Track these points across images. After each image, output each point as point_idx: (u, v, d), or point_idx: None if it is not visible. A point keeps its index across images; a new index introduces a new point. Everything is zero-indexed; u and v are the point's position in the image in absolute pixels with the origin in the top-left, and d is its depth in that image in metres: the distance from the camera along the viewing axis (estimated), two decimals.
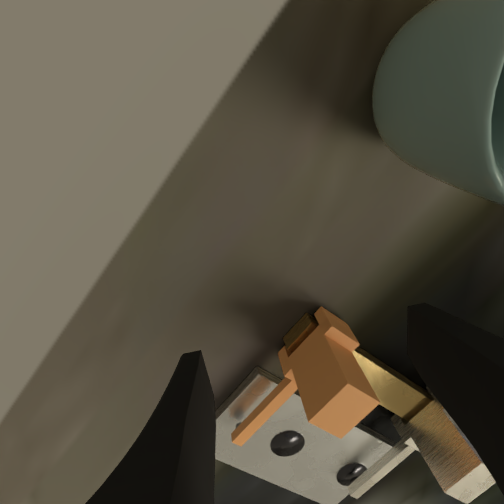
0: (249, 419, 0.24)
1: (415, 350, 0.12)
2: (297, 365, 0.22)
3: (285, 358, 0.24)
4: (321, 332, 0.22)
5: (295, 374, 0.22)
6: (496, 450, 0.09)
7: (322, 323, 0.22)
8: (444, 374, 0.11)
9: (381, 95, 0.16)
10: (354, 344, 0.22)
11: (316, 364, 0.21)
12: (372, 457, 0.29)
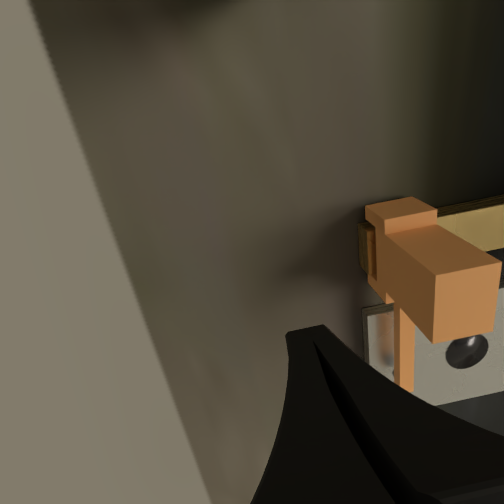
0: (396, 363, 0.20)
1: None
2: (387, 285, 0.17)
3: (376, 284, 0.19)
4: (381, 234, 0.17)
5: (392, 296, 0.17)
6: None
7: (376, 223, 0.17)
8: None
9: None
10: (430, 214, 0.16)
11: (399, 273, 0.16)
12: None
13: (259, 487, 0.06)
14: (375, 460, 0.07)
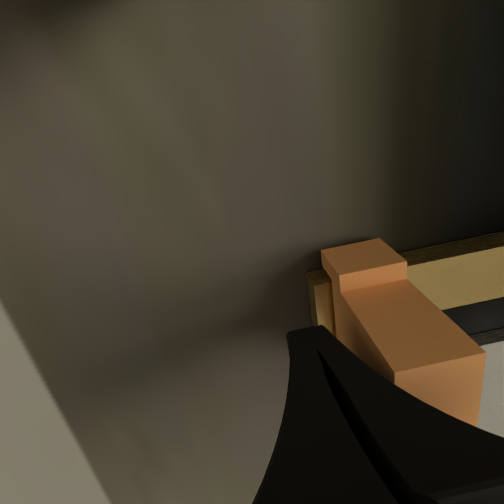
0: None
1: None
2: None
3: None
4: (338, 291, 0.13)
5: None
6: None
7: (331, 275, 0.14)
8: None
9: None
10: (398, 267, 0.13)
11: (357, 346, 0.12)
12: None
13: (261, 486, 0.06)
14: (373, 461, 0.07)
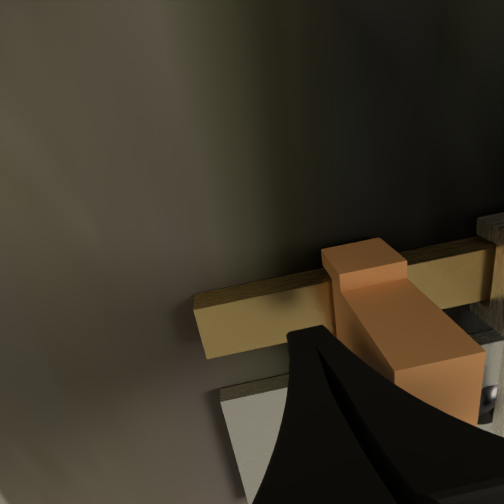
0: None
1: None
2: None
3: None
4: (338, 290, 0.13)
5: None
6: None
7: (332, 275, 0.14)
8: None
9: None
10: (399, 266, 0.13)
11: (357, 346, 0.12)
12: (495, 369, 0.18)
13: (260, 487, 0.06)
14: (374, 461, 0.07)
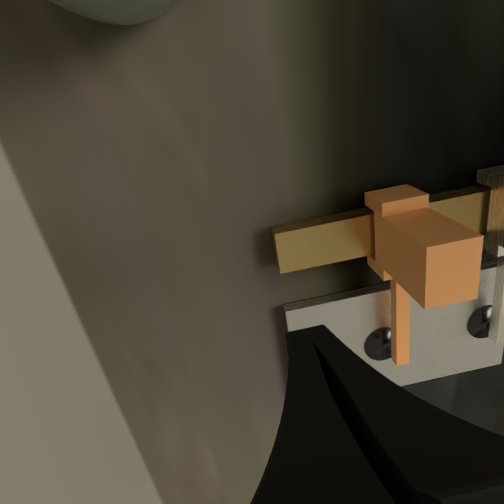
0: (393, 337, 0.22)
1: None
2: (385, 263, 0.19)
3: (374, 263, 0.21)
4: (379, 217, 0.19)
5: (389, 272, 0.19)
6: None
7: (374, 207, 0.19)
8: None
9: None
10: (423, 198, 0.18)
11: (395, 250, 0.18)
12: (491, 291, 0.23)
13: (259, 487, 0.06)
14: (375, 460, 0.07)
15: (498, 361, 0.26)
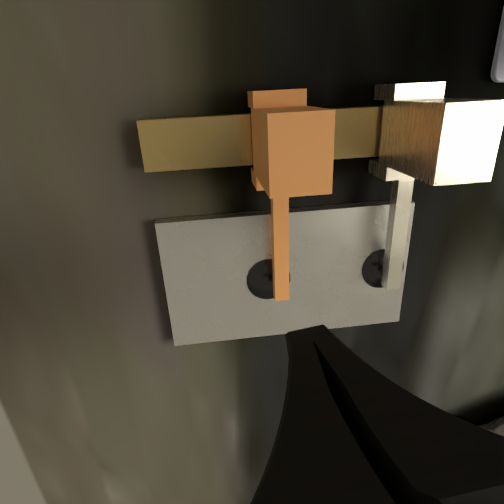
0: (273, 266, 0.20)
1: None
2: (256, 166, 0.17)
3: (253, 175, 0.19)
4: (252, 111, 0.17)
5: (257, 176, 0.17)
6: None
7: (250, 102, 0.17)
8: None
9: None
10: (300, 93, 0.16)
11: (258, 142, 0.15)
12: None
13: (259, 487, 0.06)
14: (375, 460, 0.07)
15: (396, 318, 0.24)
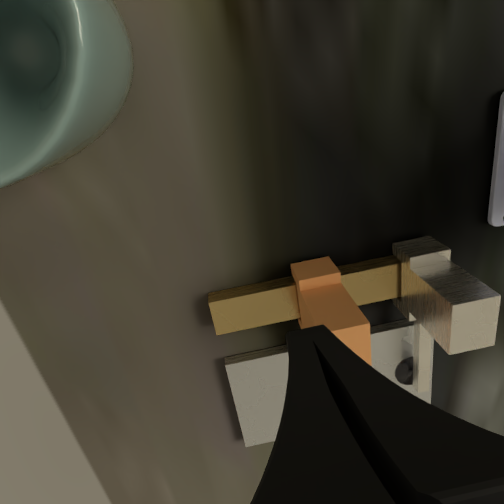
0: None
1: None
2: None
3: (301, 325, 0.23)
4: (299, 290, 0.21)
5: None
6: None
7: (296, 280, 0.22)
8: None
9: None
10: (335, 276, 0.21)
11: (308, 323, 0.20)
12: None
13: (259, 487, 0.06)
14: (375, 460, 0.07)
15: None
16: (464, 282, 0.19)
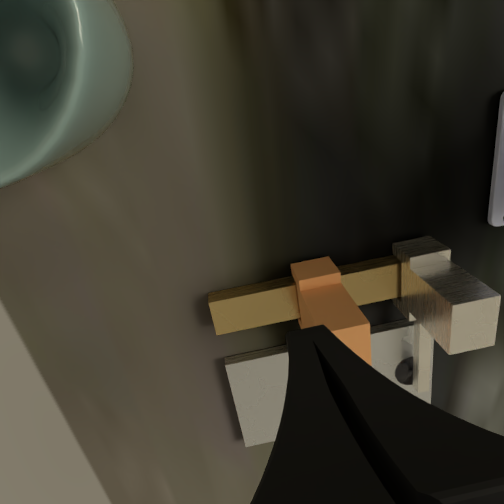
0: None
1: None
2: None
3: (301, 325, 0.23)
4: (299, 290, 0.21)
5: None
6: None
7: (296, 280, 0.22)
8: None
9: None
10: (335, 276, 0.21)
11: (308, 323, 0.20)
12: None
13: (259, 487, 0.06)
14: (375, 460, 0.07)
15: None
16: (464, 282, 0.19)
